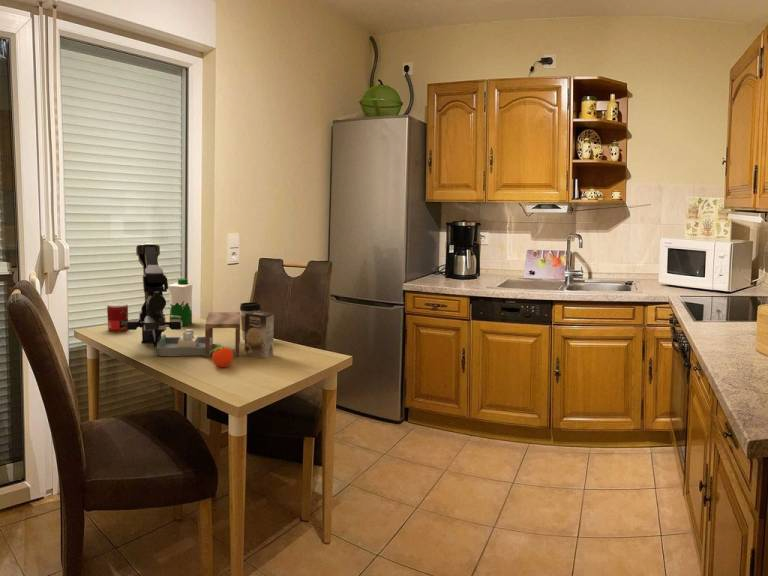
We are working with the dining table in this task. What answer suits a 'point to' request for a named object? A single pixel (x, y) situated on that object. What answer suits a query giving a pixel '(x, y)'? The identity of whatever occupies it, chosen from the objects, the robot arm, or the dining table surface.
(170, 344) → the drawer
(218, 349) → the clementine
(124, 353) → the dining table surface
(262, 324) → the coffee box
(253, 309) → the black lidded jar
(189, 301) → the milk carton
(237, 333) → the wooden stand
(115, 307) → the canned food
